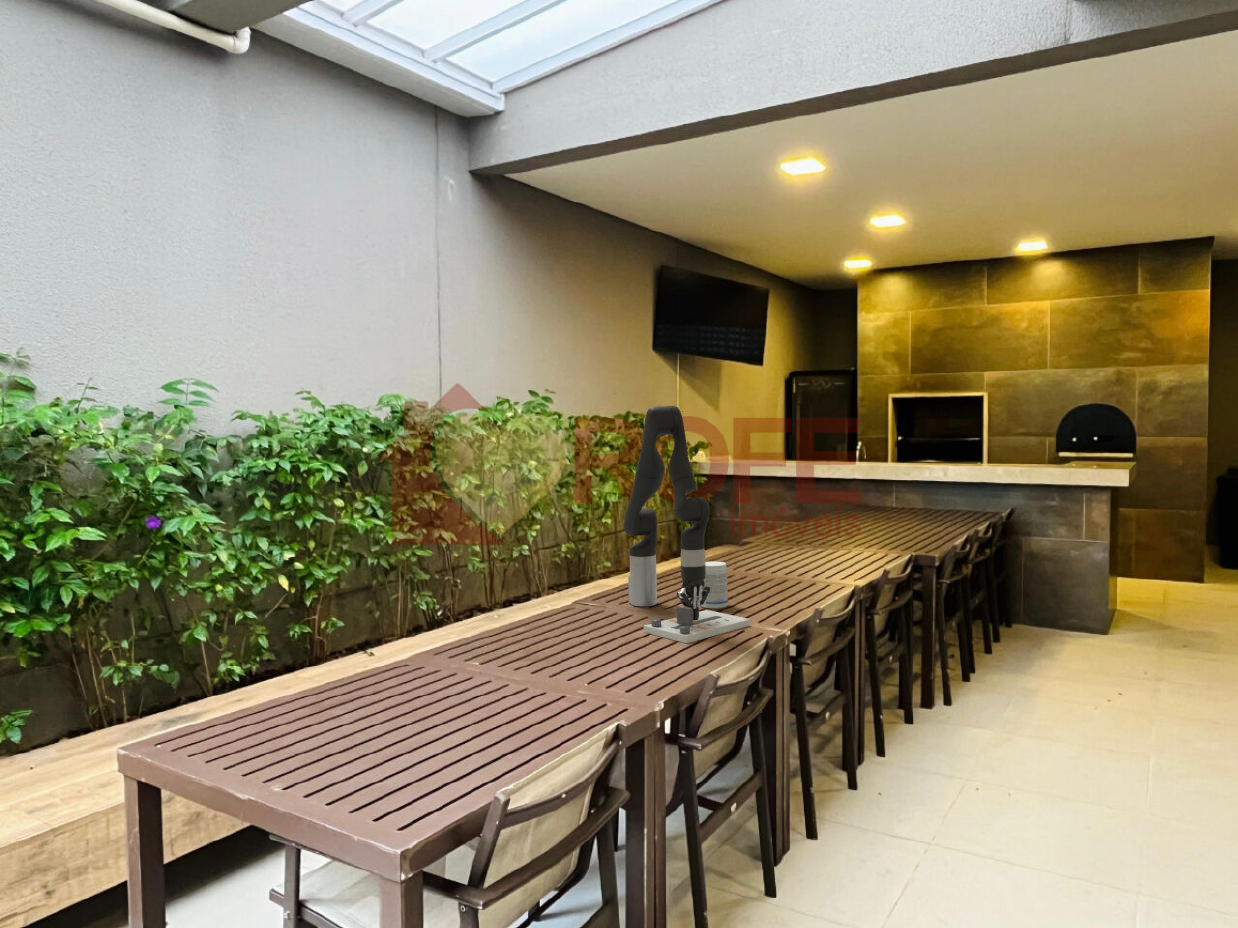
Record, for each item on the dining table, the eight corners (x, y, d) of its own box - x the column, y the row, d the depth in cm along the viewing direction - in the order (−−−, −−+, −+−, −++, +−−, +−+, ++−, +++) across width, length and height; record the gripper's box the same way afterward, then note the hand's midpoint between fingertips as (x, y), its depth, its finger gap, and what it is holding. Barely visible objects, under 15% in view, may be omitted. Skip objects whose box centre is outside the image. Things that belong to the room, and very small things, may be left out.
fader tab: (676, 623, 249) (676, 606, 249) (681, 622, 250) (681, 605, 250) (688, 626, 245) (688, 608, 245) (693, 624, 247) (693, 607, 246)
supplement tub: (733, 605, 281) (733, 563, 280) (715, 610, 274) (715, 567, 274) (711, 601, 288) (710, 560, 287) (693, 606, 281) (693, 563, 281)
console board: (643, 632, 249) (643, 619, 249) (707, 616, 267) (706, 604, 267) (686, 643, 235) (686, 630, 235) (750, 625, 254) (749, 613, 254)
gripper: (699, 559, 257) (700, 614, 258) (668, 564, 248) (670, 621, 249) (717, 561, 251) (718, 618, 252) (686, 567, 242) (687, 626, 243)
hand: (694, 619), depth 250 cm, fingers closed
